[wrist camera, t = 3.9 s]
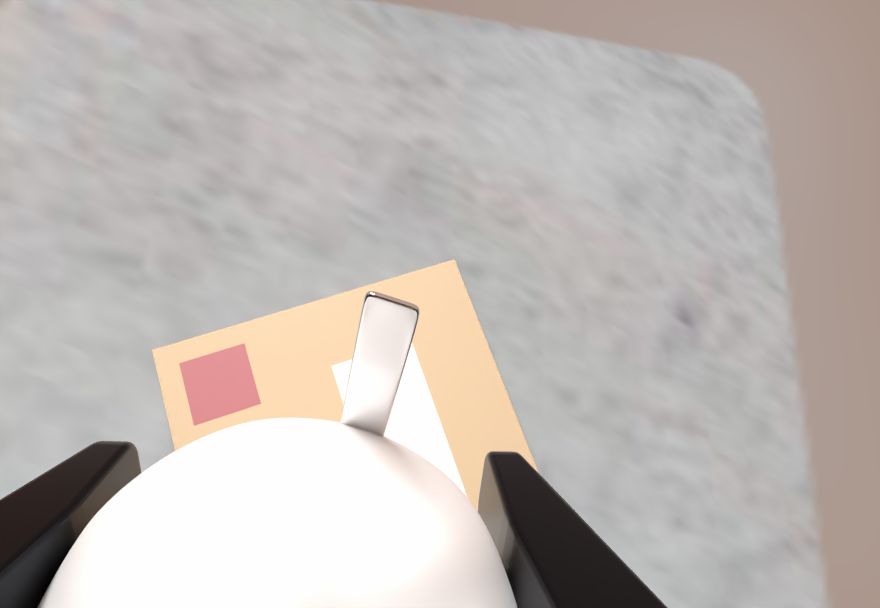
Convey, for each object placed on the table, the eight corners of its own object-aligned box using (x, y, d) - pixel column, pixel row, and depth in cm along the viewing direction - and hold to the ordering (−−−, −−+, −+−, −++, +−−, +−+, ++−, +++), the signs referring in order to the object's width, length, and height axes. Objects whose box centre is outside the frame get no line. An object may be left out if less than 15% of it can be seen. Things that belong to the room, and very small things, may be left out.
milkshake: (467, 466, 14) (670, 386, 5) (398, 720, 12) (496, 1450, 3) (288, 407, 14) (122, 207, 5) (190, 653, 12) (-424, 1160, 3)
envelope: (617, 675, 15) (618, 677, 15) (266, 846, 13) (265, 848, 13) (454, 260, 18) (454, 259, 18) (153, 350, 16) (152, 349, 16)
